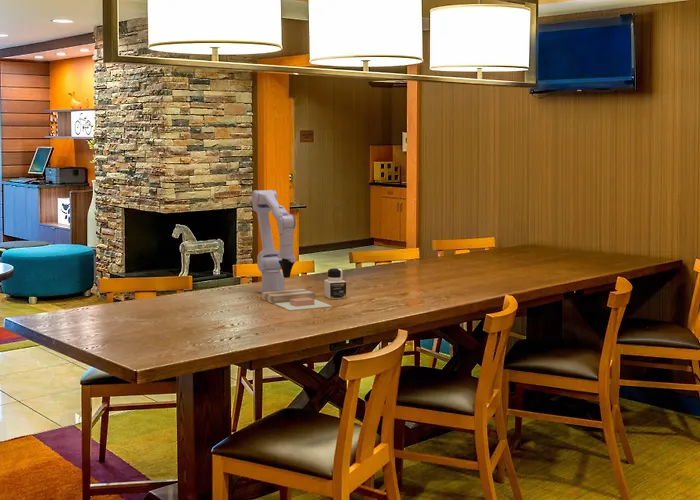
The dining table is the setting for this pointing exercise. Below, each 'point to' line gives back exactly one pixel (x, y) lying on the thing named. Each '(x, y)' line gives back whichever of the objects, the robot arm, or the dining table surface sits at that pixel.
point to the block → (302, 301)
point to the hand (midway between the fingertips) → (286, 277)
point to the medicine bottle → (335, 284)
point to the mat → (292, 308)
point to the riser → (286, 295)
